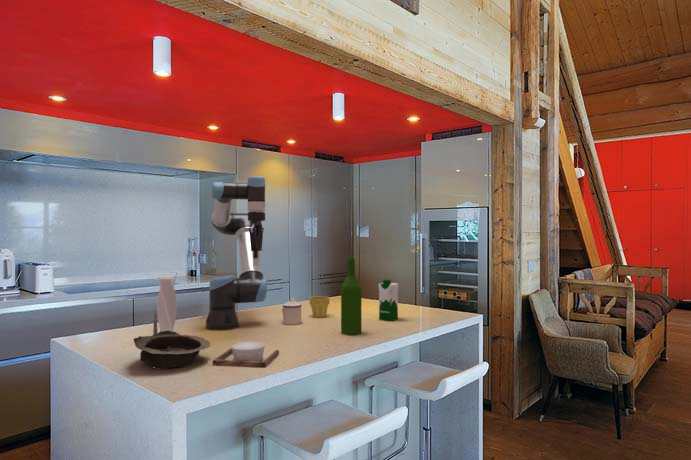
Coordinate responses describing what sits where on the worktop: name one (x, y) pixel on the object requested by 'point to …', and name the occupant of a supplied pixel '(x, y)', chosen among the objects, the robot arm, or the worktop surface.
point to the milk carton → (388, 301)
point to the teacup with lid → (291, 312)
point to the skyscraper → (166, 304)
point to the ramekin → (248, 351)
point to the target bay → (264, 363)
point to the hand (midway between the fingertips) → (256, 265)
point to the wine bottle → (351, 302)
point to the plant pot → (319, 305)
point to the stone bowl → (169, 349)
